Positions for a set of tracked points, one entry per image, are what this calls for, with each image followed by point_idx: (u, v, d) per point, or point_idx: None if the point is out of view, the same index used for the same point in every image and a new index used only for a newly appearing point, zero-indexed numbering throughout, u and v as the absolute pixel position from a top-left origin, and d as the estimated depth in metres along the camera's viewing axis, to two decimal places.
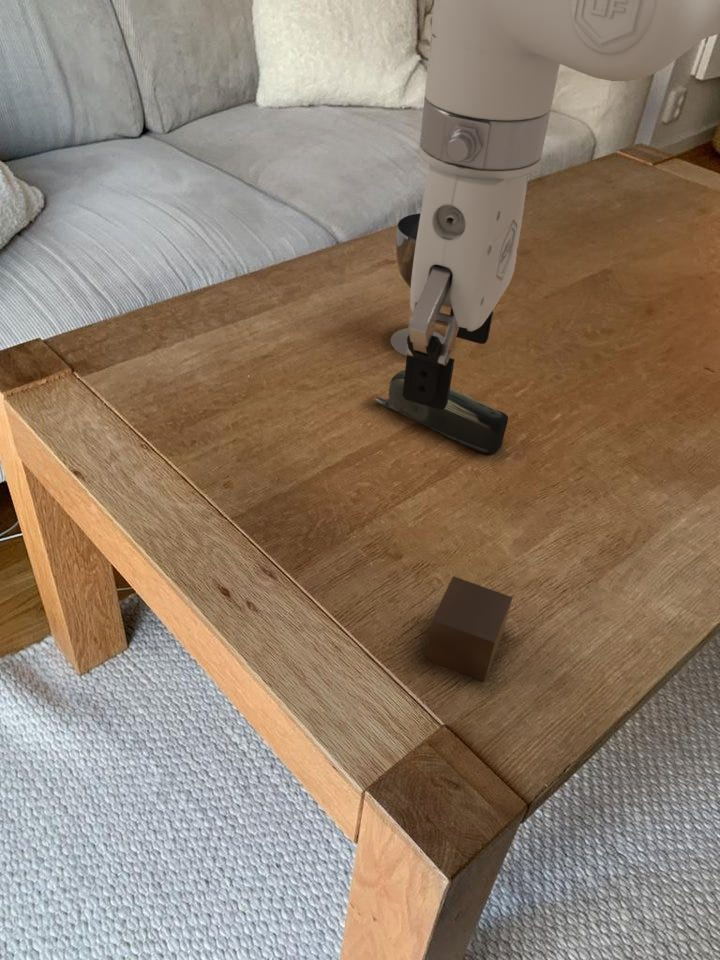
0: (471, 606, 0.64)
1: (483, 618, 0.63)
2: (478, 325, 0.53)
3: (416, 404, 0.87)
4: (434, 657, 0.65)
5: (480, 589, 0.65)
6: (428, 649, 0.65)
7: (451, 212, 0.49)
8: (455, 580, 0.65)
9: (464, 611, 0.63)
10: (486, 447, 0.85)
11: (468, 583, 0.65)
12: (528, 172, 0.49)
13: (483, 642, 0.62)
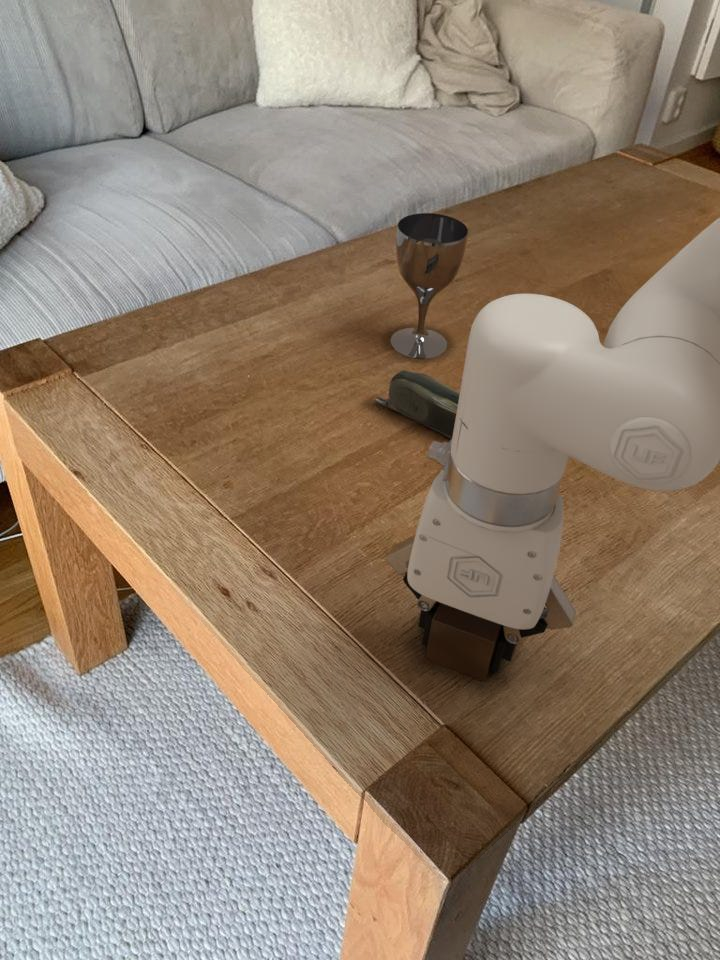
0: None
1: (483, 618, 0.63)
2: (413, 587, 0.61)
3: (416, 404, 0.87)
4: (434, 657, 0.65)
5: None
6: (428, 649, 0.65)
7: None
8: None
9: None
10: None
11: None
12: (464, 517, 0.53)
13: (483, 642, 0.62)
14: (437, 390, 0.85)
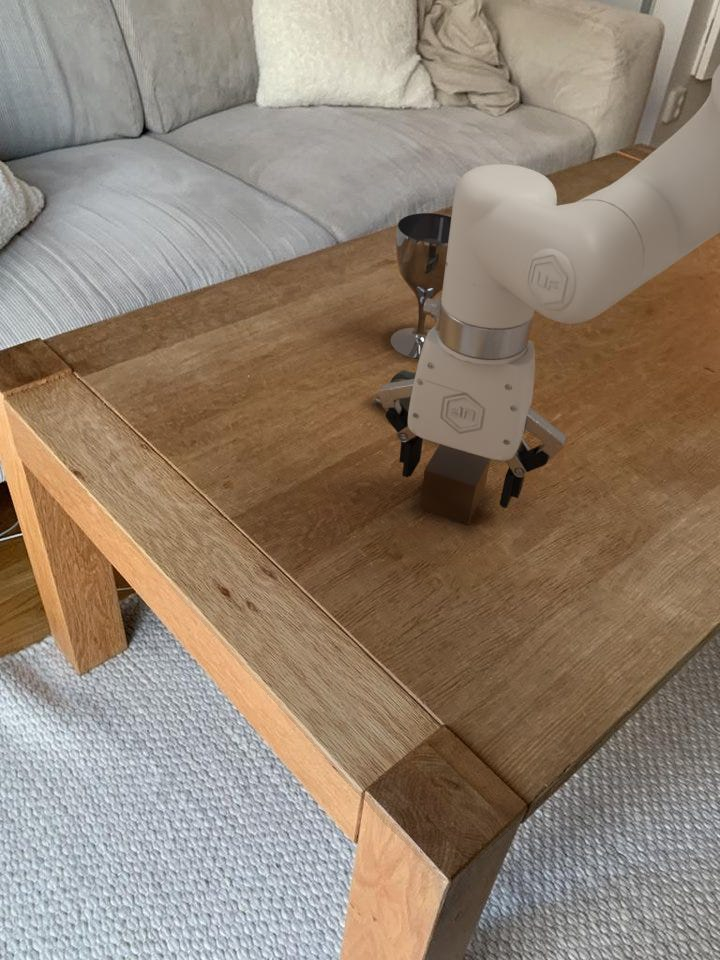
0: (456, 460, 0.77)
1: (466, 469, 0.76)
2: (413, 430, 0.73)
3: None
4: (426, 506, 0.78)
5: None
6: (421, 498, 0.78)
7: None
8: None
9: (451, 464, 0.76)
10: None
11: None
12: (452, 355, 0.66)
13: (466, 487, 0.75)
14: None
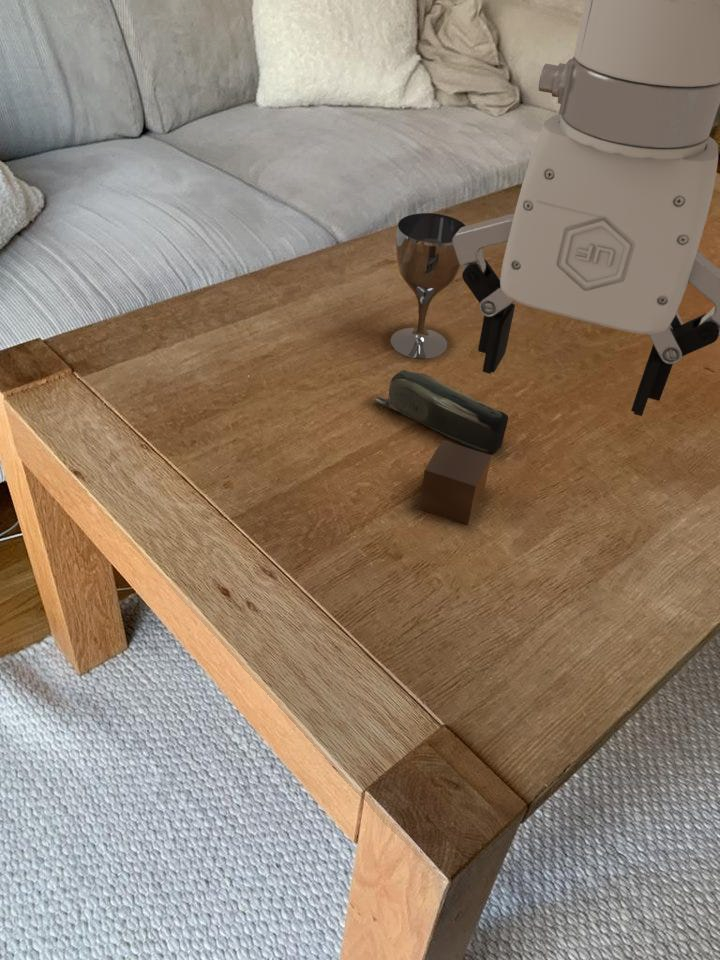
0: (456, 460, 0.77)
1: (466, 469, 0.76)
2: (508, 291, 0.48)
3: (416, 404, 0.87)
4: (426, 506, 0.78)
5: (465, 449, 0.78)
6: (421, 498, 0.78)
7: None
8: (443, 443, 0.79)
9: (451, 464, 0.76)
10: (486, 447, 0.85)
11: (454, 445, 0.79)
12: (592, 145, 0.40)
13: (466, 487, 0.75)
14: (437, 390, 0.85)
